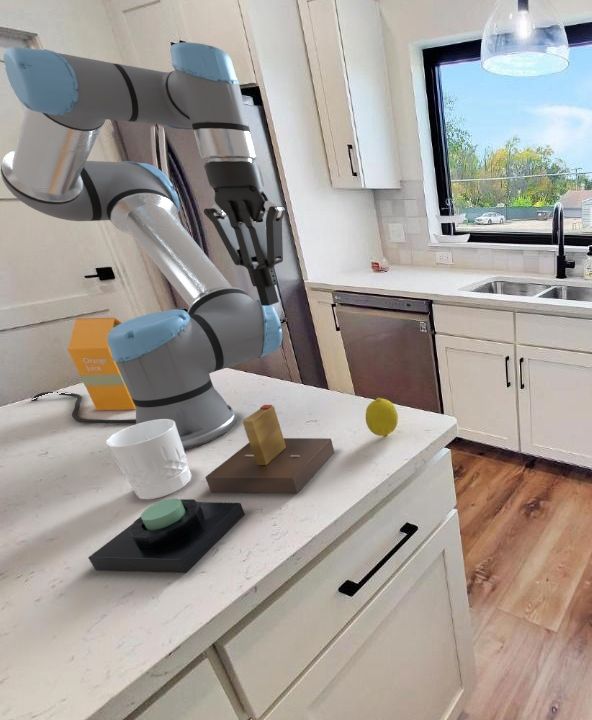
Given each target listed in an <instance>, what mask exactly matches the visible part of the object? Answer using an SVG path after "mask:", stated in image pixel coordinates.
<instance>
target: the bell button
mask: <svg viewBox="0 0 592 720" xmlns="http://www.w3.org/2000/svg"><path fill="white" fill-rule="evenodd" d="M185 512H186V511H185V509H184V507H183V504H182V502H181V500H180V499H179V498H167V499H164V500H160V501H158V502H156V503H154V504H151V505H150V506H149V507H147V508H146V509H145V510H144V511H143V512H142V513H141V515H140V517H141V519H142V521H143V523H144V525H145V527H146V529H148V530H157V529H160V528H164V527H167V526H169V525H171V524H173V523H175V522H177V521H178V520H179V519H181V518H182V517H183V516H184V515H185Z"/></svg>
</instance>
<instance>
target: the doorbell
mask: <svg viewBox="0 0 592 720" xmlns="http://www.w3.org/2000/svg"><path fill="white" fill-rule="evenodd" d="M179 500H181V502H182V504H183V507H184V509H185V511H186V512H185V515H184V516H183V517H182V518H181V519H179V520H178V521H177V522H175V523H173V524H171V525H169V526H167V527H164V528H160V529H157V530H148V529H146V527H145V525H144V523H143V521H142V519H141V516H140V517H138V518H137V519H135V520H134V521H133V523H131V524H130V525H129V526H127V527H126V528H125V529H124V530H122V531H121V532H119V533H118V534H117V535H116V536H115V537H113V538H112V539H110V540H109V541H108V542H106V543H105V544H104V545H103V546H101V547H100V548H99V549H97V550H96V551H95V552H92V554H90V555H89V556H88V560H89V561H90V563H91V565H92V567H93V569H94V570H95V571H97V572H98V571H101V572H102V571H103V572H133V573H134V572H135V573H137V572H138V573H167V574H168V573H169V574H171V573H172V574H187V573H188V572H190V571H191V569H192V568H193V567H194V566H195V565H196V564H198V563H199V561H200V560H201V559H203V557H204V556H205V555H206V554H208V552H209V551H210V550H211V549H212V548H213V547H215V545H216V544H218V543H219V541H220V540H221V539H223V538H224V536H225V535H227V533H228V532H230V531H231V530H232V528H233V527H235V526H236V525H237V523H238V522H239V521H240V520H242V518H243V517H245V515H246V513H245V511H244V508H243V505H242V503H241V502H219V501H218V502H217V501H216V502H215V501H211V502H210V501H209V502H208V501H196V499H193V498H192V499H189V498H180V499H179Z"/></svg>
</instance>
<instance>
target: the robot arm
mask: <svg viewBox="0 0 592 720" xmlns="http://www.w3.org/2000/svg"><path fill="white" fill-rule="evenodd" d="M169 52H170V58H171V65H172V68H174V70H172V71H160V70H154V69H149V68H145V67H144V68H143V67H139V66H138V67H137V66H133V65H131V66H130V65H126V64H122V63H121V64H120V63H113V62H109V61H105V60H104V61H103V60H97V59H92V58H87V57H82V56H76V55H73V54H66V53H61V52H55V51H54V50H50V49H46V48H44V49H38V48H29V47H21V46H10V47H7V48H6V49H5V50H4V52H3V62H4V65H5V67H4V69H5V73H6V76H7V79H8V82H9V84H10V86H11V89H12V90H13V92H14V95H15V96H16V97H17V98H18V100H19V102H20V103H21V104H22V105H23V106H24V107H25V109H24V112H23V113H24V114H23V117H22V120H21V125H20V129H19V133H18V137H17V141H16V145H15V149H14V150H11V151H10V152H7V154H5V156H4V157H3V159H2V161H1V165H0V166H1V167H0V175H1V178H2V182H3V183H4V185H5V186H6V189H8V191H9V192H10V193H11V194H12V195H13V196H14V197H15V198H16V199H18V200H19V201H20V202H21V203H23V204H25V205H26V206H28V207H29V208H31V209H33V210H35V211H38V212H39V213H42V214H44V215H47V216H50V217H53V218H56V219H60V220H66V221H73V222H96V221H97V222H99V221H100V222H101V221H110V222H111V223H112V225H113V226H114V227H115V228H116V230H117V229H118V230H119V231H120V232H122V233H124V234H127V235H130V236H132V237H133V238H134V239H135V240H136V241H137V243H138V244H139V245H140V247H141V248H142V249H143V250H144V252H145V253H146V255H148V257H149V258H150V259H151V260H152V262H153V263H154V265H156V267H157V268H158V269H159V271H160V272H161V273H162V275H163V276H164V277H165V278H166V280H167V281H168V282H169V283H170V284H171V286H172V287H173V288H174V289H175V291H176V292H177V293H178V294H179V296H180V297H181V299H183V301H184V302H185V304H186V305H187V306H188V309H187V311H185V310H184V309H179V308H177V309H175V308H174V309H167V310H163V311H156V312H151V313H147V314H143V315H140V316H137V317H135V318H131V319H129V320H125V321H124V322H121V324H119V325H117V326H116V327H114V328H113V329H112V330H111V331H110V332H109V333H108V336H107V341H108V344H109V348H110V351H111V354H112V359H113V360H114V361H115V362H116V364H117V367H118V369H119V371H120V373H121V376H122V378H123V380H124V382H125V385H126V387H127V389H128V392H129V394H130V396H131V398H132V401H133V403H134V405H135V408H136V409H135V418H132V419H129V418H128V419H101V418H100V419H99V418H84V417H79V415H78V413H79V410H80V409H81V402H82V399H83V397H82V395H81V394H78V393H73V392H70V393H71V394H65V393H68V392H66V391H64V392H65V393H61V394H59V395H58V396H67V397H73V398H76V400H75V402H74V408H73V410H72V412H71V418H72V419H73V420H75V421H77V422H81V423H86V424H87V423H88V424H135V425H136V424H139V423H142V422H146V421H151V420H158V419H170V420H173V421H174V422H175V424H176V427H177V430H178V433H179V436H180V439H181V442H182V445H183V448H184V451H185V450H188V449H191V448H195V447H198V446H202V445H203V444H205V443H208V442H211V441H213V440H215V439H217V438H219V437H221V436H222V435H224V434H226V433H227V432H228V431H229V430H231V429H233V427H234V426H235V425H236V423H237V416H236V413H235V411H234V409H233V408H232V407H231V406H230V405H229V404H227V402H226V400H225V399H224V398H223V397H222V395H221V394H220V393H219V392H218V391H217V390H216V388H215V386H214V385H213V382H212V379H211V376H210V374H212V373H214V372H218V371H221V370H224V369H228V368H231V367H234V366H237V365H240V364H243V363H247V362H249V361H252V360H255V359H261V358H263V357H264V356H267V355H270V354H273V353H275V352H276V351H278V350H279V349H280V347H281V345H282V343H283V328H282V322H281V320H280V316H279V314H278V312H277V310H276V308H275V307H274V304H278V303H279V302H280V301H279V297H278V293H277V289H276V285H278V278H277V275H276V272H275V266H276V265H278V264H280V263H282V262H283V261H284V248H283V243H284V242H283V218H284V215H285V213H286V209H285V207H284V206H283V205H277V204H275V203H273V202H271V201H270V200H269V196H268V195H267V193H266V192H265V191H264V186H265V183H264V182H265V181H264V179H263V175H262V171H261V167H260V165H259V164H258V163H255V161H257V159H258V156H257V152H256V148H255V145H254V141H253V137H252V132H251V129H250V123H249V121H248V120H249V119H248V116H247V113H246V108H245V103H244V100H243V99H244V98H243V96H242V95H243V94H242V91H241V87H240V80H239V79H238V77H237V74H236V70H235V68H234V64H233V60H232V59H231V56H230V55H229V54H228V53H227V52H226V51H224V50H223V49H220V48H218V47H216V46H213V45H210V44H205V43H199V42H189V41H188V42H187V41H186V42H184V41H183V42H176V43H174V44H173V43H172V45H171V46H170V50H169ZM107 120H108V121H109V120H110V121H121V122H130V123H131V122H133V123H140V124H141V123H142V124H150V125H151V124H152V125H161V126H164V127H166V128H168V129H172V130H186V131H189V130H192V131H193V134H194V137H195V141H196V145H197V148H198V152H199V155H200V158H201V159H203V160H205V161H206V162H205V163H204V165H203V167H204V171H205V174H206V177H207V181H208V184H209V186H210V187H211V188H212V189H213V191H214V197H213V198H214V200H213V201H214V204H213V205H212V206H211V207H209V208H204V209H203V213H204V216H206V218H208V219H209V221H210V222H211V223H212V224H213V227H214V228H215V230H216V232H217V234H218V236H219V237H220V239H221V241H222V243H223V245H224V247H225V249H226V251H227V252H228V254H229V257H230V258H231V260H232V262H233V264H234V265H235V266H241V267H243V268H246V269H247V272H248V276H249V279H250V283H251V285H252V287H254V288H256V291H257V295H258V299H257V300H253V298H252V297H251V296H250V295H249V294H248V292H246V290H244V289H242V288H239V287H233V286H232V285H231V284H230V283H229V281H228V280H227V279H226V278H225V276H224V275H223V274H222V273H221V272H220V270H219V269H218V268H217V267H216V265H215V264H214V263H213V262H212V261H211V259H210V258H209V257H208V255H207V254H206V253H205V252H204V251H203V249H202V248H201V246H199V244H198V243H197V242H196V241H195V240H194V239H193V237H192V236H191V235H190V233H189V232H188V231H187V230H186V229H185V227H184V226H183V225H182V224H181V222H180V221H179V220H178V214H179V211H180V200H179V196H178V193H177V191H176V190H175V189H174V185H173V183H172V182H171V180H170V179H169V178H168V176H167V175H166V174H165V173H164V172H163V171H162V170H161V169H159V168H158V167H156V166H155V165H152V164H149V163H146V162H145V163H144V162H135V161H132V160H131V161H130V160H125V161H106V160H105V161H101V160H88V158H89V156H90V153H91V152H92V149H93V147H94V145H95V143H96V141H97V139H98V137H99V135H100V132H101V130H102V128H103V126H104V124H105V122H106V121H107ZM53 392H54V391H44V392H40V393H37V394H35V395H34V396H33V397H32V398H31V400H30V402H36V401H38V399H39V398H40V397H39V396H41V397H43V396H42V395H45V394H48V393H53ZM56 392H57V393H58V392H59V391H56ZM36 397H39V398H36ZM33 398H36V399H34V400H32V399H33Z"/></svg>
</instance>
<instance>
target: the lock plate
mask: <svg viewBox="0 0 592 720" xmlns="http://www.w3.org/2000/svg"><path fill="white" fill-rule="evenodd" d="M283 438H284V442H285V445H286V448H285V449H284V450H283V451H282V452H281V453H280V454H278V455H277V456H276V457H275V458H274V459H273V460H272V461H271V462H269V463H268V464H267V465H257V463H256V460H255V457H254V454H253V451H252V448H251V446H250V443H249V442H248V443H246V444H245V445H244V446H243V447H241V448H240V449H238V451H236V452H235V453H234V454H233V455H232V456H231V455H230V457H229V458H228V459H226V460H225V461H224V462H222V463H221V464H220V465H218V466H217V467H216V468H215V469H213V470H212V471H211V472H210V473H209V474H207V475H205V477H204V478H205V480H206V483H207V486H208V488H209V491H210V493H211V494H262V495H263V494H266V495H267V494H268V495H269V494H271V495H278V494H279V495H298V494H300V492H301V491H302V490H303V489H304V488H305V487H306V486H307V484H309V482H310V481H311V480H312V479H313V478H314V476H315V475H317V473H318V472H319V471H320V470H321V469H322V467H323V466H325V464H326V463H327V462H328V461H329V460H330V458H331V457H332V456H333V455H334V454H335V449H334V444H333V440H332V438H330V437H329V438H327V437H326V438H325V437H324V438H321V437H320V438H318V437H315V438H313V437H312V438H311V437H308V438H307V437H306V438H305V437H304V438H303V437H295V438H294V437H283Z"/></svg>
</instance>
